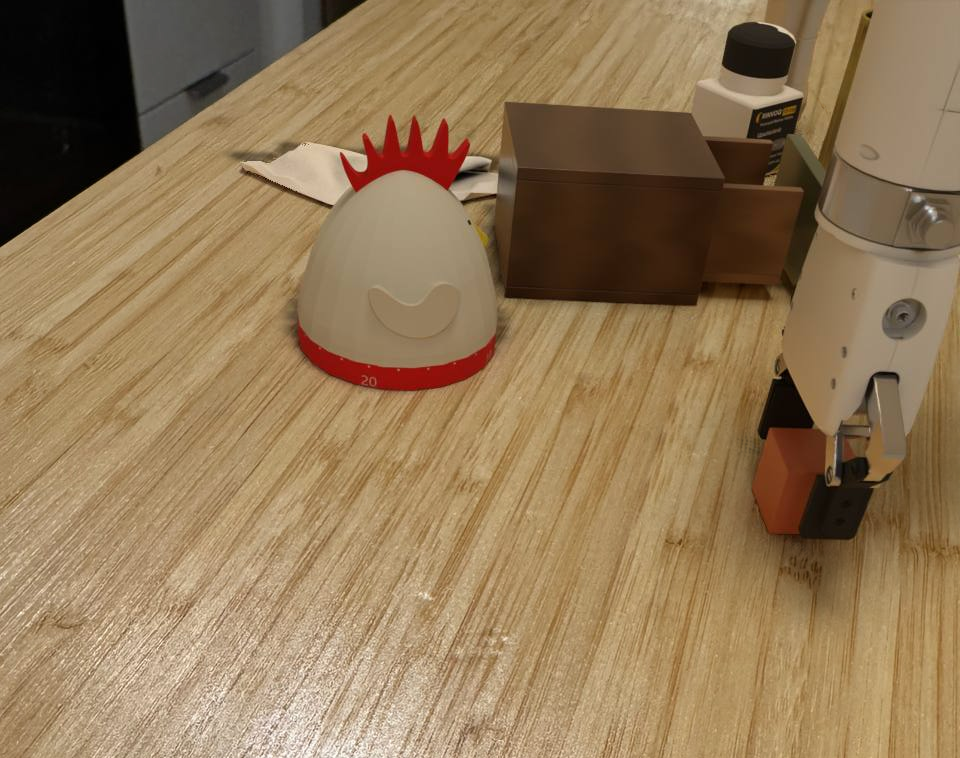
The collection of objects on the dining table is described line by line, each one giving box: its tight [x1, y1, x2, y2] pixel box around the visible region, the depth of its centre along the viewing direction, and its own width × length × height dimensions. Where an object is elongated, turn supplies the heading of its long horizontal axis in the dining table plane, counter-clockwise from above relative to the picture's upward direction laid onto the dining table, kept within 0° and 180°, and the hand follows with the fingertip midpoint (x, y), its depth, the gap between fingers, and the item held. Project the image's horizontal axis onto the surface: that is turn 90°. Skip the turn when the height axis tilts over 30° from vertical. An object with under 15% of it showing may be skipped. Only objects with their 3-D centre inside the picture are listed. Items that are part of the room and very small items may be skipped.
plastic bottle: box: [763, 0, 831, 123], centre depth 110 cm, size 6×7×20 cm
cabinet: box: [493, 101, 725, 307], centre depth 88 cm, size 15×13×10 cm
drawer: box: [702, 133, 826, 287], centre depth 89 cm, size 21×12×8 cm, turn 93°
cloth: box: [239, 141, 498, 206], centre depth 98 cm, size 26×14×2 cm, turn 80°
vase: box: [817, 8, 874, 172], centre depth 102 cm, size 6×6×14 cm
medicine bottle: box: [690, 21, 803, 177], centre depth 104 cm, size 7×7×12 cm
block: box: [751, 428, 857, 535], centre depth 67 cm, size 4×4×4 cm
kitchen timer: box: [296, 114, 499, 391], centre depth 75 cm, size 14×14×15 cm
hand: (802, 484), depth 67 cm, fingers open, 9 cm apart
